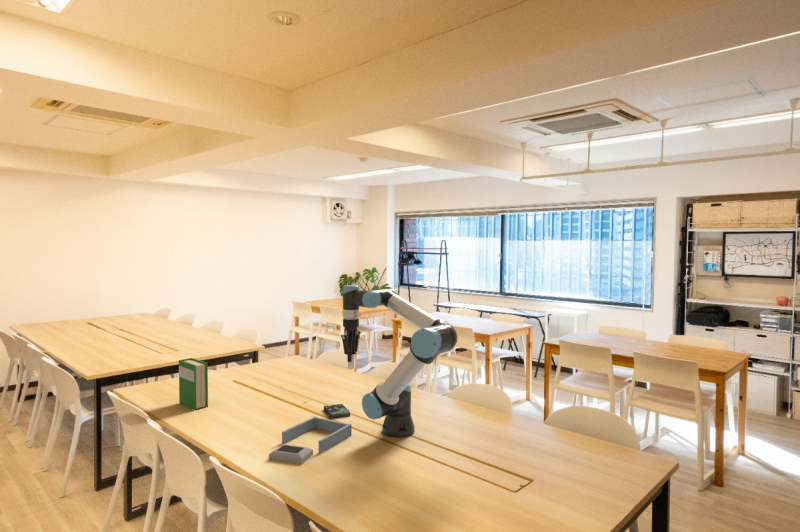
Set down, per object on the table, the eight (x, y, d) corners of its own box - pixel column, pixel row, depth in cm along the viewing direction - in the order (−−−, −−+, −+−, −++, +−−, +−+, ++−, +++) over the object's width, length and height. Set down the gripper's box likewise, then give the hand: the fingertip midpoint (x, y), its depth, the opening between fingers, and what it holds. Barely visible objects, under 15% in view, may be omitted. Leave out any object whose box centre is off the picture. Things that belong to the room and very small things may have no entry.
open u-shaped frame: (351, 435, 226) (351, 424, 225) (320, 453, 206) (320, 441, 206) (314, 426, 236) (314, 416, 236) (282, 443, 216) (281, 431, 216)
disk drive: (323, 411, 260) (331, 419, 247) (323, 406, 260) (331, 414, 247) (341, 408, 265) (350, 416, 251) (341, 403, 265) (350, 411, 251)
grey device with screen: (302, 456, 195) (268, 451, 200) (302, 465, 195) (268, 460, 200) (313, 446, 204) (281, 442, 209) (313, 455, 204) (281, 451, 209)
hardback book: (208, 407, 264) (207, 363, 263) (194, 410, 259) (193, 365, 258) (192, 400, 276) (192, 357, 275) (179, 403, 270) (178, 360, 269)
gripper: (352, 315, 237) (352, 364, 238) (336, 319, 226) (336, 370, 227) (365, 317, 234) (365, 366, 235) (349, 320, 222) (349, 372, 223)
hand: (350, 368), depth 231 cm, fingers closed
